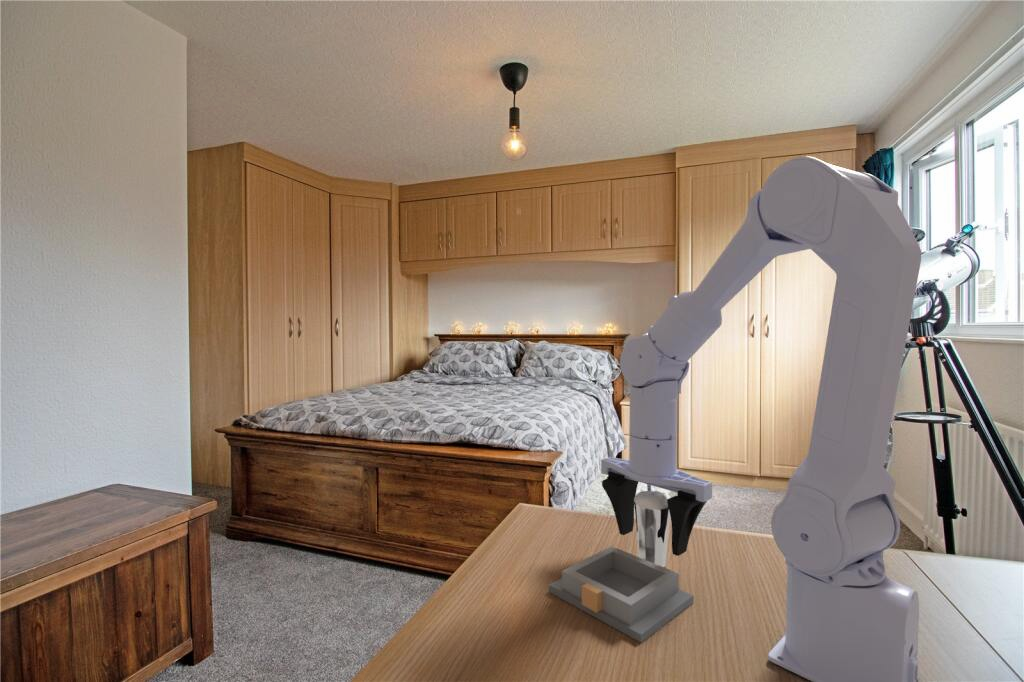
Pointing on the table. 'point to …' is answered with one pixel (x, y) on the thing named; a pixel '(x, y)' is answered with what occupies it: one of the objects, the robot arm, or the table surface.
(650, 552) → the milkshake
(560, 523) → the table surface
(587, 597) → the box
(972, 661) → the table surface
